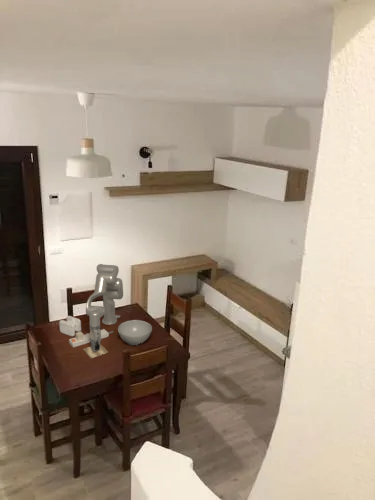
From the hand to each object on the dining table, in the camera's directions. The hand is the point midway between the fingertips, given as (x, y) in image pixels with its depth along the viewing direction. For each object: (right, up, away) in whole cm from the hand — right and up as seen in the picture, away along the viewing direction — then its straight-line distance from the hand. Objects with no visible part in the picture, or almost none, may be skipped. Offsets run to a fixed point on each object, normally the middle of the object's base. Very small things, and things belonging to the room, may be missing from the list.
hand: (95, 347), depth 309 cm
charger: (0, -2, 0) cm, 2 cm away
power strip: (-6, +3, +18) cm, 19 cm away
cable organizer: (-26, +6, +25) cm, 37 cm away
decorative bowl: (+28, +1, +17) cm, 32 cm away
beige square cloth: (0, -3, +1) cm, 3 cm away
